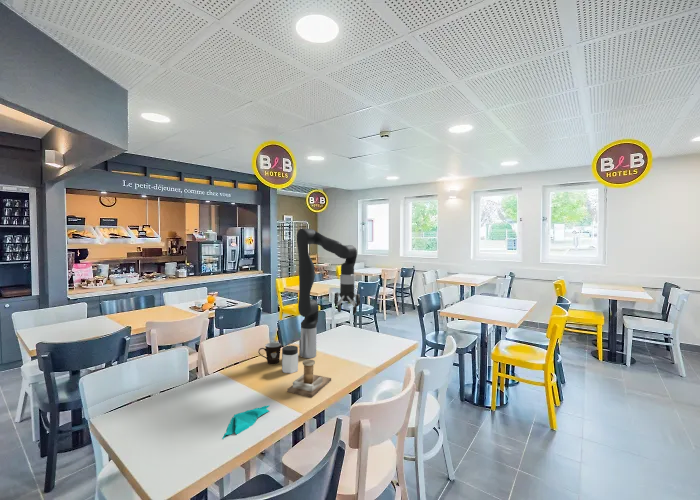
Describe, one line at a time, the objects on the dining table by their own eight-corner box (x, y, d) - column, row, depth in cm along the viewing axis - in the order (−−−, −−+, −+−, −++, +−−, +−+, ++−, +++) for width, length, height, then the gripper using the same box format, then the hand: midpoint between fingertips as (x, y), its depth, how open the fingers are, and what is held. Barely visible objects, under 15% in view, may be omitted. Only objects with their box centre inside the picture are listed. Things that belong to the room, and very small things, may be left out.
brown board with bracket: (287, 391, 154) (287, 383, 153) (308, 375, 171) (308, 368, 171) (312, 397, 149) (312, 388, 148) (331, 380, 166) (331, 373, 166)
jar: (281, 367, 181) (281, 345, 181) (296, 366, 184) (296, 344, 183) (282, 374, 173) (283, 351, 172) (298, 372, 175) (299, 349, 175)
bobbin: (299, 385, 157) (300, 362, 156) (306, 381, 162) (307, 358, 162) (310, 388, 154) (310, 364, 154) (316, 383, 159) (317, 360, 159)
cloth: (261, 403, 144) (261, 397, 144) (284, 413, 136) (284, 407, 136) (205, 430, 123) (204, 424, 123) (227, 444, 115) (227, 438, 115)
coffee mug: (282, 359, 193) (283, 342, 192) (278, 365, 184) (278, 347, 184) (263, 359, 194) (263, 341, 194) (257, 364, 185) (257, 346, 185)
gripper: (332, 282, 179) (331, 312, 180) (357, 284, 174) (356, 315, 175) (338, 281, 186) (337, 310, 187) (362, 282, 181) (361, 312, 181)
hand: (347, 312), depth 181 cm, fingers open, 8 cm apart
